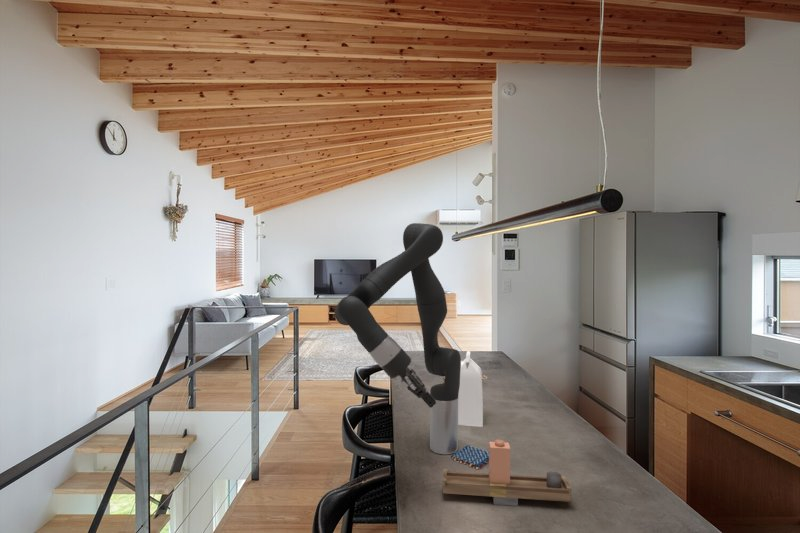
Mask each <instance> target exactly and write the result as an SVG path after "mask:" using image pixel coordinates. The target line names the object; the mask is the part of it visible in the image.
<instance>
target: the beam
mask: <svg viewBox="0 0 800 533" xmlns="http://www.w3.org/2000/svg"><path fill="white" fill-rule="evenodd" d="M442 493H443V494H446V495H447V494H448V495H449V494H450V495H461V496H462V495H466V496H479V497H492V501H493V505H500V506H514V507H519V499H523V500H524V499H525V500H538V501H539V500H540V501H541V500H542V501H552V502H553V501H554V502H555V501H556V502H568V503H571V502H572V487H571V485H570V483H569V481H568V480H567V478H566V476H565V475H562V474H560V473H559V472H557V471H547V473H546V476H536V475H535V476H534V475H532V476H531V475H520V474H519V475H517V474H515V475H514V474H510V485H506V484H490V482H489V473H485V472H467V471H451V470H448V469H447V468H443V469H442Z"/></svg>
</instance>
